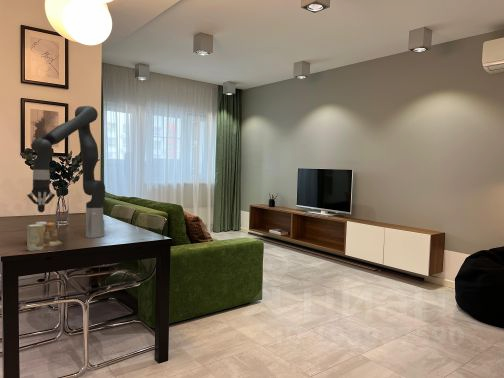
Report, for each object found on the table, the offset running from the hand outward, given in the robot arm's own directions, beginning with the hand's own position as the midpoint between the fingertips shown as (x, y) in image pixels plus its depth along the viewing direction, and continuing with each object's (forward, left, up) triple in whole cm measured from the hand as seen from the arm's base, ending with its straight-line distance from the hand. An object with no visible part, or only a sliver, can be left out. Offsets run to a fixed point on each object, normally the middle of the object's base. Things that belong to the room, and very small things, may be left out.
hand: (41, 212), depth 191 cm
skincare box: (+5, +8, -18) cm, 20 cm away
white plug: (0, 0, -12) cm, 12 cm away
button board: (-3, -5, -17) cm, 18 cm away
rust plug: (-5, -5, -14) cm, 16 cm away
